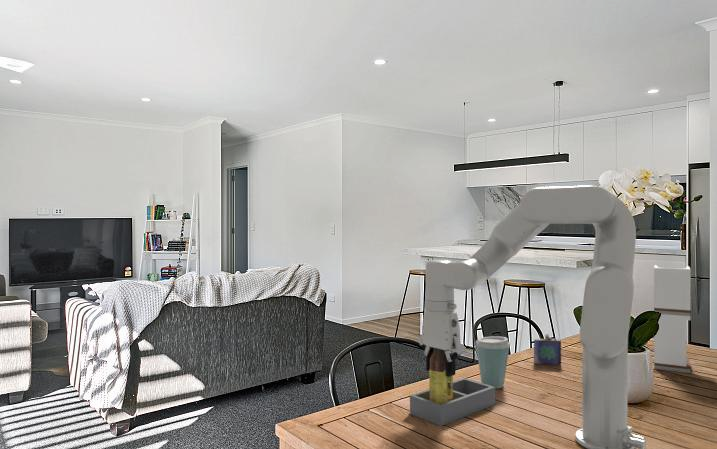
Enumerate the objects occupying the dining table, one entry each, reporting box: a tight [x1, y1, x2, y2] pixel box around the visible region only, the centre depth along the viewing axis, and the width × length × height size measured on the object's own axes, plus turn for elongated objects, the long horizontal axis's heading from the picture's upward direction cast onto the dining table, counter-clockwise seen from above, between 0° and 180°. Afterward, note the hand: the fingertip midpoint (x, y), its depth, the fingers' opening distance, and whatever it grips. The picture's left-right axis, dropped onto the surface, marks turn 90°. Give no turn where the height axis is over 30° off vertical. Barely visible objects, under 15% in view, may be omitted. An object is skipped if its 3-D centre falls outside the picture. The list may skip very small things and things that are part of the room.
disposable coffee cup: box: [475, 335, 511, 389], centre depth 163 cm, size 11×11×15 cm
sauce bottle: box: [428, 348, 454, 405], centre depth 140 cm, size 7×6×20 cm
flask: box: [533, 333, 562, 367], centre depth 186 cm, size 9×3×11 cm, turn 76°
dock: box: [409, 377, 496, 427], centre depth 143 cm, size 11×23×5 cm, turn 130°
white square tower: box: [653, 264, 692, 374], centre depth 182 cm, size 11×11×35 cm
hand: (440, 372), depth 140 cm, fingers closed on sauce bottle, 6 cm apart
